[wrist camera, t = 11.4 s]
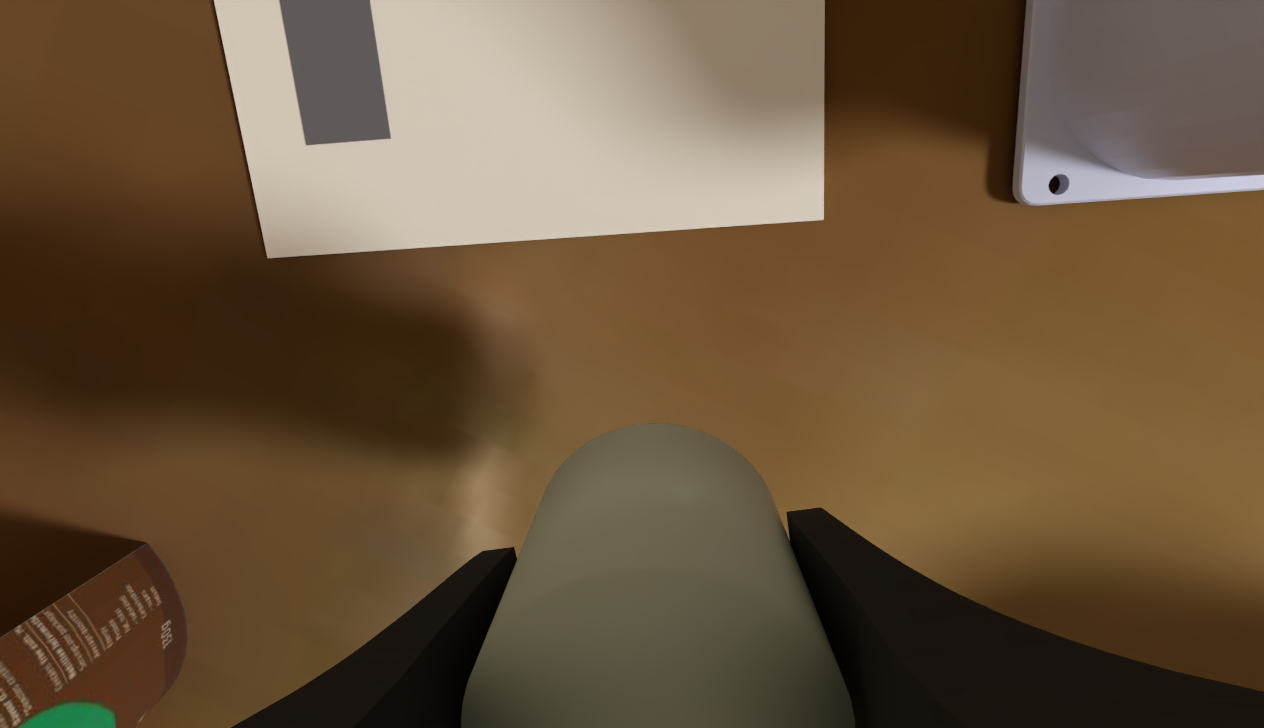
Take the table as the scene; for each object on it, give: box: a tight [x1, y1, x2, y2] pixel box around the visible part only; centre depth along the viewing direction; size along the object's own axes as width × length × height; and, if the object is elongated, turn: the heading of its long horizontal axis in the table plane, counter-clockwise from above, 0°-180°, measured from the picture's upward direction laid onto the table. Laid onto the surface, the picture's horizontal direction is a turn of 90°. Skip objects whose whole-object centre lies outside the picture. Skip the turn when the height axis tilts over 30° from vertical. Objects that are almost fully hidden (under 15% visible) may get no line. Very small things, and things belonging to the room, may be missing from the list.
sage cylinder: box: [461, 423, 855, 728], centre depth 10 cm, size 5×5×5 cm
